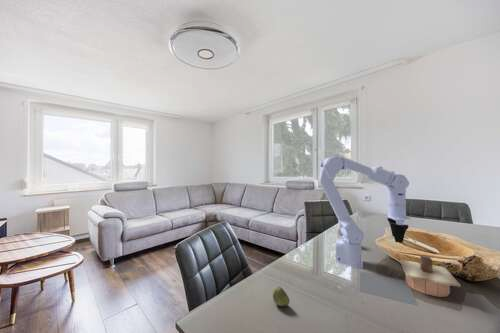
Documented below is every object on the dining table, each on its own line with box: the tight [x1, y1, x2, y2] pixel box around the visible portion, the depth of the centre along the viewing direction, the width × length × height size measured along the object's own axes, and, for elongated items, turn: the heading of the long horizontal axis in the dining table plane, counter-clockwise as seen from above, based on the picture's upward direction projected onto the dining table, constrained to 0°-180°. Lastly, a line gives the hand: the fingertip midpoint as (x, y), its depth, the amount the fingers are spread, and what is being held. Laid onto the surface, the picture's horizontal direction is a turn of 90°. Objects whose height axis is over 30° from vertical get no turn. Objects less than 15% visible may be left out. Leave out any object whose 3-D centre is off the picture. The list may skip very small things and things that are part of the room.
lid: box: [399, 255, 461, 288], centre depth 64 cm, size 12×12×5 cm
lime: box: [272, 285, 290, 307], centre depth 56 cm, size 4×5×5 cm
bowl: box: [405, 275, 451, 298], centre depth 64 cm, size 10×10×5 cm
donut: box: [336, 224, 343, 239], centre depth 103 cm, size 10×3×10 cm, turn 16°
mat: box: [359, 270, 418, 306], centre depth 65 cm, size 14×14×1 cm
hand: (397, 239), depth 80 cm, fingers open, 7 cm apart
